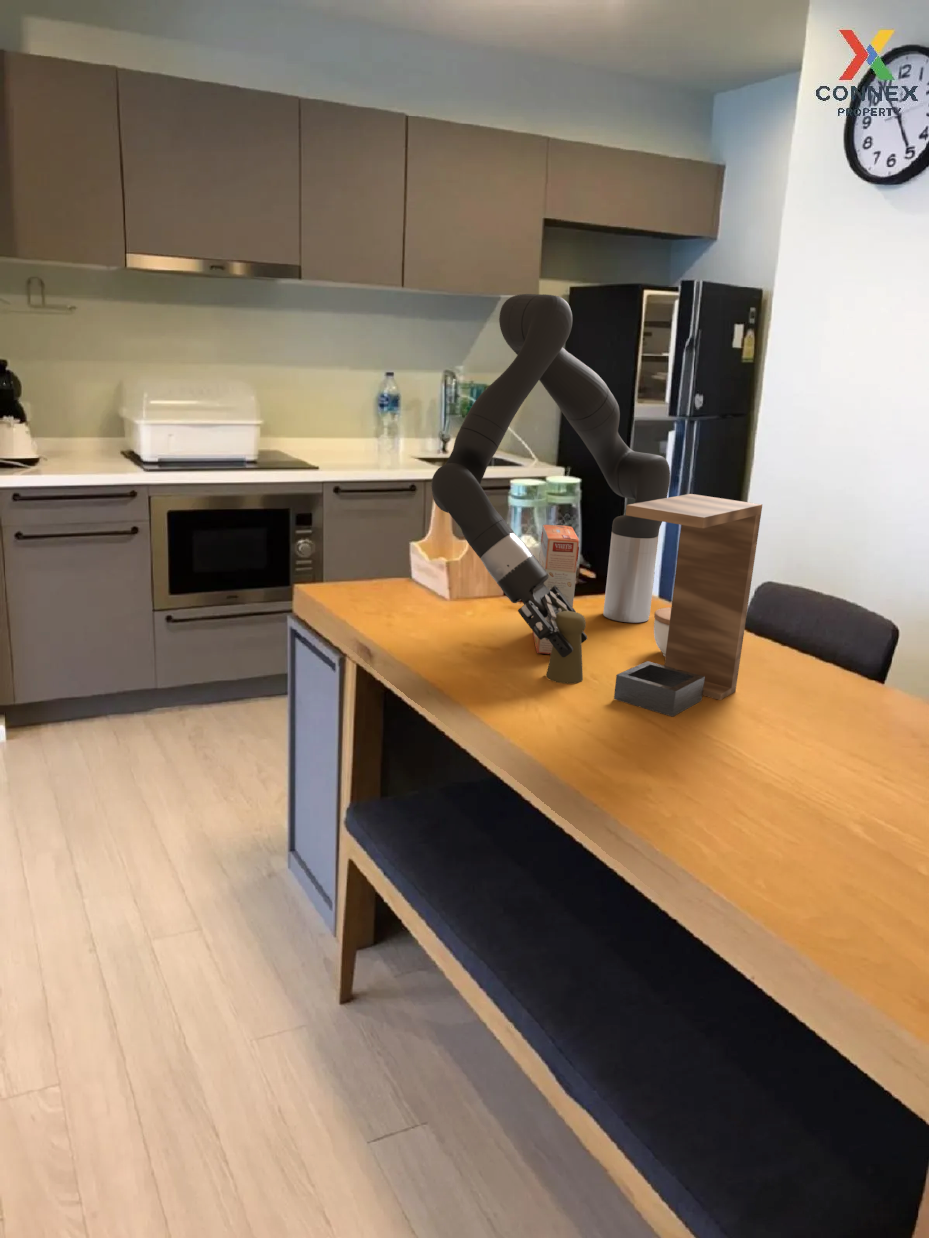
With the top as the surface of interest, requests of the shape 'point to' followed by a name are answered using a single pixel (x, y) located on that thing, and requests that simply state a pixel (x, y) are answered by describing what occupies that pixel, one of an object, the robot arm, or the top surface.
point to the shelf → (708, 584)
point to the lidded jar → (662, 628)
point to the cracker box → (558, 567)
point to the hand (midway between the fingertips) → (576, 647)
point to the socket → (659, 688)
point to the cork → (571, 665)
